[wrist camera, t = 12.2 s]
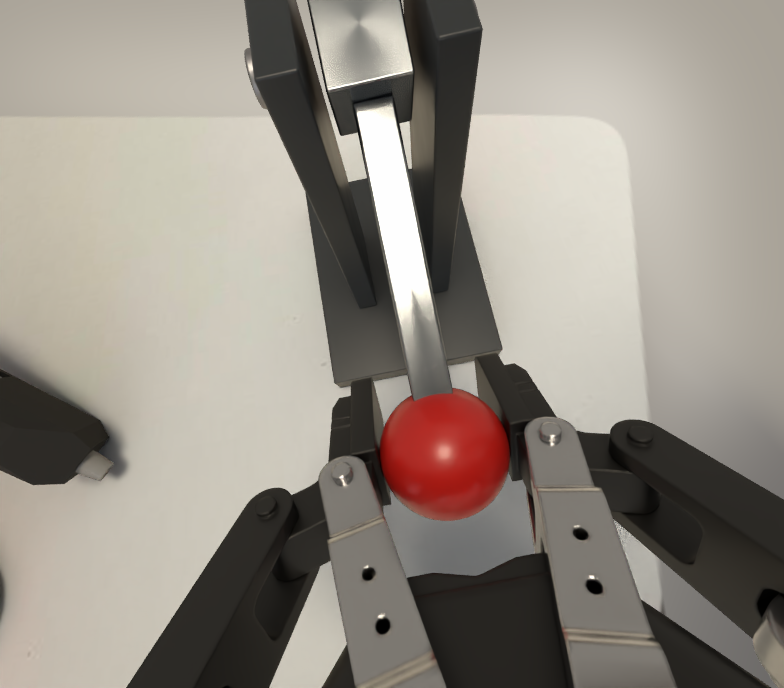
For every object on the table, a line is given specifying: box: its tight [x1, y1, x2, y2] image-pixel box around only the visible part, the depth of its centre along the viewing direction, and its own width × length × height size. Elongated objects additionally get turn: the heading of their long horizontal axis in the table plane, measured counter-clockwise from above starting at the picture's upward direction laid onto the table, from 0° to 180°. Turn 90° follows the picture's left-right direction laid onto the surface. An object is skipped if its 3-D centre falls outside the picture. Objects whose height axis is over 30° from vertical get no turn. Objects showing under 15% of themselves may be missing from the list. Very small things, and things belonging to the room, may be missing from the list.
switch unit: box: [244, 0, 502, 387], centre depth 17 cm, size 12×9×16 cm
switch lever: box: [307, 0, 510, 521], centre depth 11 cm, size 14×4×4 cm, turn 11°
